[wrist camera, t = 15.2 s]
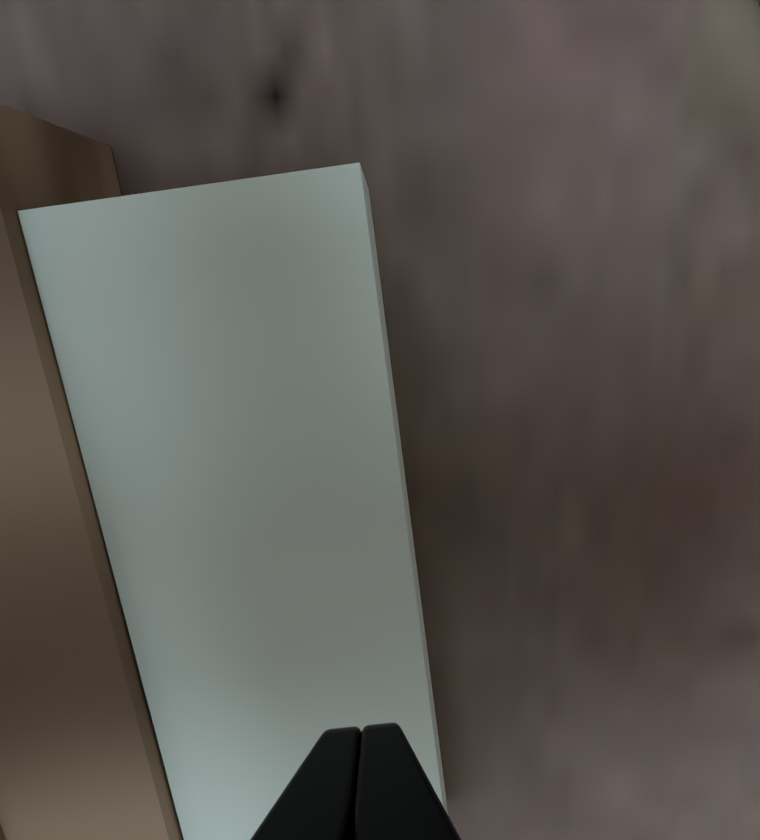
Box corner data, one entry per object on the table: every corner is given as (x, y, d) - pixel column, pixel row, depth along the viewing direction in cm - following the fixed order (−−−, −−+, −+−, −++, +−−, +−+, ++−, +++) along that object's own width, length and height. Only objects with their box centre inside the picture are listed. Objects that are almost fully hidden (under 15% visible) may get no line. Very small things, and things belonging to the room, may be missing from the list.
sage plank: (445, 792, 15) (464, 972, 12) (264, 809, 16) (224, 992, 12) (368, 190, 12) (360, 162, 8) (136, 223, 12) (16, 210, 8)
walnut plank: (-206, 190, 12) (-516, 158, 8) (110, 146, 11) (-39, 89, 7) (26, 864, 16) (-96, 1074, 12) (263, 842, 16) (220, 1049, 11)
